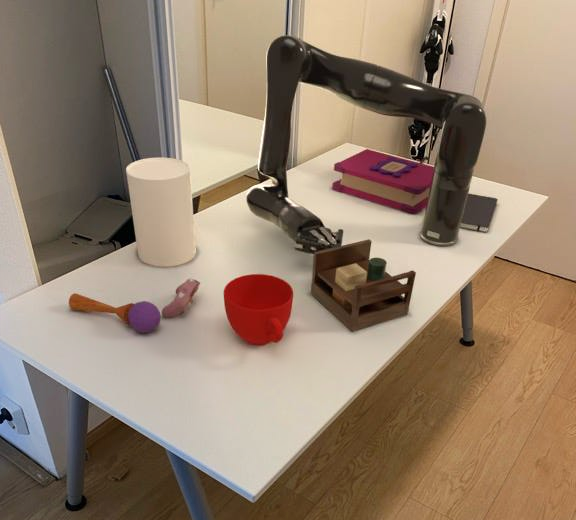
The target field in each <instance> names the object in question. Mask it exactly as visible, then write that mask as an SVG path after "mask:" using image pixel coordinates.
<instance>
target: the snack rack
mask: <svg viewBox="0 0 576 520" xmlns="http://www.w3.org/2000/svg"><path fill="white" fill-rule="evenodd" d="M372 242H373V241H372V240H371V239H368V238H367V239H364V240H359V241H356V242H352V243H347V244H342V245H341V246H339V247H334V248H330V249H326V250H322V251H317V252H314V254H313V259H312V272H311V273H312V274H311V285H310V286H311V287H310V295H311V296H313V298H315V299H316V300H317V301H318V302H319V303H321V305H322V306H323V307H324V308H326V310H328V311H329V312H330V313H331V314H332V315H333V316H334V317H335V318H337V320H339V322H341V323H342V324H343V325H344V326H345V327H346V328H347V329H348V330H350V332H357V331H359V330H363V329H366V328H369V327H373V326H376V325H379V324H382V323H385V322H388V321H391V320H396V319H399V318H402V317H404V316H408V313H409V308H410V304H411V300H412V294H413V290H414V285H415V280H416V274H417V272H416V271H414V269H413V270H409V271H407V272H403V273H399V274H395V275H391V274H390V273H388V272H387V271H386V270H387V264H388V263H387V260H386V259H384V258H382V257H372V258H370V255H371V250H372ZM405 279H407V280H406V283H402V282H400V280H405Z"/></svg>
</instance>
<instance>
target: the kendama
mask: <svg viewBox="0 0 576 520" xmlns="http://www.w3.org/2000/svg"><path fill="white" fill-rule="evenodd" d="M68 306H69V309H71V310H75V311H83V312H85V311H86V312H95V313H96V312H97V313H105V314H106V313H107V314H115V315H116V316H117V317H118V318H119V319H120V320H122V321H123V323H125V324H126V325H129V326H130V327H132V328H133V329H134V330H135V331H137V332H140V333H143V334H146V333H149V332H153V331H154V330H155V329H156V328H157V327H159V324H160V323H161V316H162V315H161V313H160V310H159V309H158V307H157V306H156V305H155V304H154V303H152V302H150V301H146V300H142V301H138V302H135V303H133V302H130V303H126V304H124V305H120V306H117V307H115V306H113V305H110V304H106V303H104V302H101V301H99V300H95V299H93V298H90V297H87V296H84V295H81V294H79V293H72V294H71V295H70V296H69V298H68Z"/></svg>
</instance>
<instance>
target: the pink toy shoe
mask: <svg viewBox="0 0 576 520" xmlns="http://www.w3.org/2000/svg"><path fill="white" fill-rule="evenodd" d="M200 284H201V282H200V281H199V280H197V279H194V278H192V277H189V278H188V279H186V280H185V281H184V282H183V283H181V284H180V285H178V286H177V287H176V289H175V294H176V295H175V297H174V299H173V300H172V301H171V302H170V303H169V304H167V305H165V306H164V307H163V308H162V309H161V316H162V317H163V318H167V319H168V318H169V319H170V318H171V319H172V318H174V317H176V316H178V315H179V314H183V313H184V312H185V310H186V309H190V308H191V306H192V302H193V297H194V295H195V294H196V293H197V291H198V290H199V288H200Z"/></svg>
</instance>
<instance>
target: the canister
mask: <svg viewBox="0 0 576 520" xmlns="http://www.w3.org/2000/svg"><path fill="white" fill-rule="evenodd" d="M125 173H126V179H127V180H126V181H127V187H128V194H129V199H130V201H129V202H130V206H131V207H130V208H131V214H132V221H133V229H134V235H135V242H136V250H137V256H138V258H139V260H140V261H141V262H143V263H145V264H147V265H150V266H155V267H176V266H180V265H183V264H185V263H188V262H190V261H191V260H192V259H194V257H195V256H196V253H197V249H196V248H197V247H196V246H197V245H196V234H195V220H194V206H193V194H192V193H193V192H192V179H191V166H190V165H189V163H187V161H184V160H181V159H177V158H172V157H147V158H142V159H138V160H135V161H132V162H131V163H129V164H128V165H127V166H126V168H125Z"/></svg>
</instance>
